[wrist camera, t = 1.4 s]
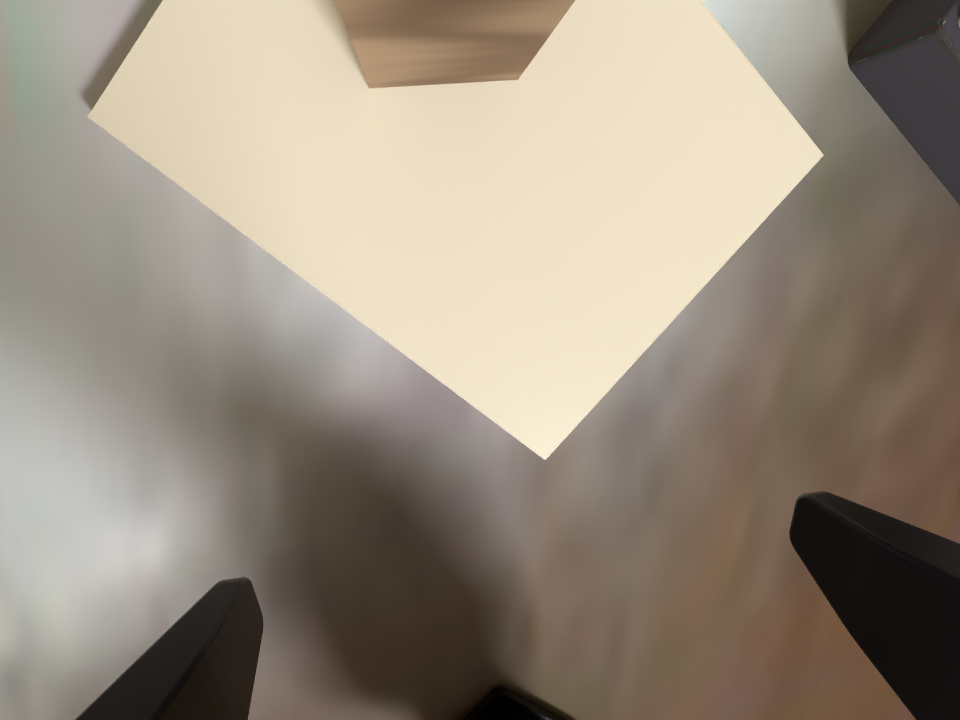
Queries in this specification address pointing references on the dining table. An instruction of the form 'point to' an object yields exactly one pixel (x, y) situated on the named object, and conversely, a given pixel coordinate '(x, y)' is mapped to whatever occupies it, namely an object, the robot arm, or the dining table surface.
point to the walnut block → (447, 38)
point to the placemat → (475, 182)
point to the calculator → (918, 78)
